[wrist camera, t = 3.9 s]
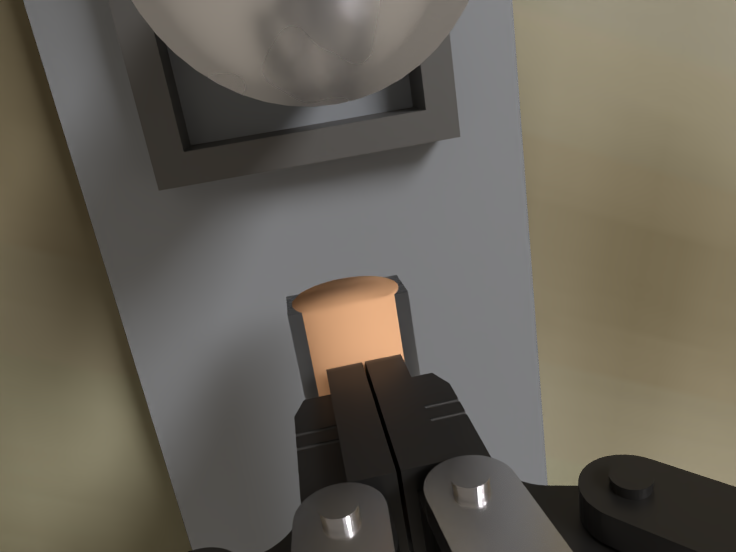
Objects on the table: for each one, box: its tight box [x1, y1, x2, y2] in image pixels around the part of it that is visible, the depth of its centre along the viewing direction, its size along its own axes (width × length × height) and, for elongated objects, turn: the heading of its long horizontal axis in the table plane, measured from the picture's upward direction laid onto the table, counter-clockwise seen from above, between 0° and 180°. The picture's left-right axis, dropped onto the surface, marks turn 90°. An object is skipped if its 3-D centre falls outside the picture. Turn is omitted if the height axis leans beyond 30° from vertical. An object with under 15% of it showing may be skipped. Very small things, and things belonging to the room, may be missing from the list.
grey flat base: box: [23, 0, 547, 552], centre depth 15 cm, size 30×12×8 cm, turn 9°
